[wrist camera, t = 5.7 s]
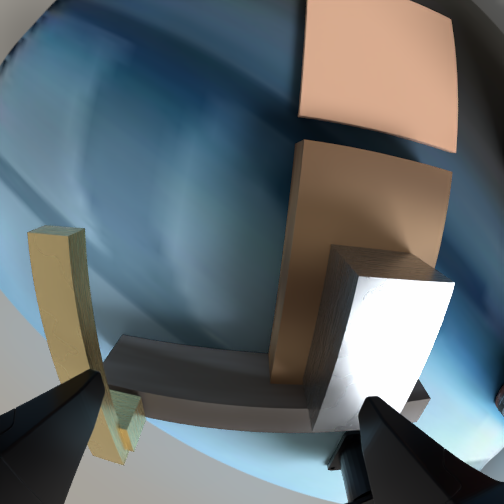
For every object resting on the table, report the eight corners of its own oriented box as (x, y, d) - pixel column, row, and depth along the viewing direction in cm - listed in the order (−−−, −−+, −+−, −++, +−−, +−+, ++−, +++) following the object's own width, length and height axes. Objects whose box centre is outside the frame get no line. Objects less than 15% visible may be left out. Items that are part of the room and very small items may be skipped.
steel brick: (371, 378, 16) (392, 425, 12) (302, 379, 16) (312, 431, 12) (411, 252, 13) (454, 283, 10) (331, 244, 13) (358, 276, 9)
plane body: (392, 377, 19) (416, 421, 15) (126, 359, 19) (99, 405, 14) (448, 175, 15) (500, 184, 10) (116, 135, 15) (68, 129, 10)
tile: (450, 152, 15) (455, 152, 14) (297, 117, 14) (299, 115, 14) (446, 22, 12) (451, 19, 11) (307, -23, 11) (308, -28, 11)
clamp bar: (146, 420, 14) (129, 466, 11) (108, 411, 14) (88, 453, 11) (124, 214, 11) (76, 237, 7) (75, 211, 11) (21, 231, 7)
